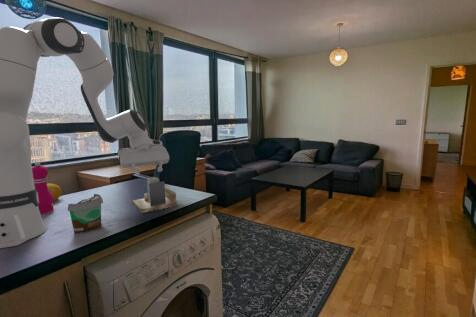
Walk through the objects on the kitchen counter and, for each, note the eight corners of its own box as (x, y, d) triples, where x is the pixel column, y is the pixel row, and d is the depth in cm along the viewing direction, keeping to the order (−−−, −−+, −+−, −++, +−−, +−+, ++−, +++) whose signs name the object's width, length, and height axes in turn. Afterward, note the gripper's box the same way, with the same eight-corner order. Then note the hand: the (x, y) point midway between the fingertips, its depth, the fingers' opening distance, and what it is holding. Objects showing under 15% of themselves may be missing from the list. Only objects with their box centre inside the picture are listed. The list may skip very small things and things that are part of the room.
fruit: (52, 197, 126) (50, 181, 125) (66, 198, 124) (64, 181, 123) (34, 203, 118) (31, 185, 117) (48, 205, 116) (45, 186, 114)
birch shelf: (141, 213, 103) (140, 199, 103) (132, 203, 115) (131, 191, 114) (176, 205, 111) (175, 192, 110) (165, 197, 123) (164, 185, 122)
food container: (87, 236, 84) (83, 205, 83) (70, 235, 85) (66, 204, 84) (113, 221, 96) (110, 194, 95) (97, 220, 97) (95, 193, 96)
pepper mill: (37, 209, 110) (30, 161, 107) (57, 207, 112) (51, 159, 109) (29, 215, 103) (22, 164, 100) (51, 213, 105) (44, 162, 102)
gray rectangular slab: (150, 206, 106) (149, 184, 105) (150, 205, 107) (148, 183, 106) (165, 203, 110) (164, 181, 108) (164, 202, 111) (163, 181, 109)
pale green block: (151, 204, 109) (150, 180, 107) (148, 201, 113) (146, 178, 111) (160, 202, 111) (159, 178, 109) (157, 199, 115) (155, 176, 113)
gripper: (117, 144, 112) (123, 171, 106) (165, 141, 124) (174, 165, 117) (115, 153, 117) (122, 180, 110) (162, 149, 128) (171, 173, 121)
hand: (149, 172), depth 114 cm, fingers open, 8 cm apart
